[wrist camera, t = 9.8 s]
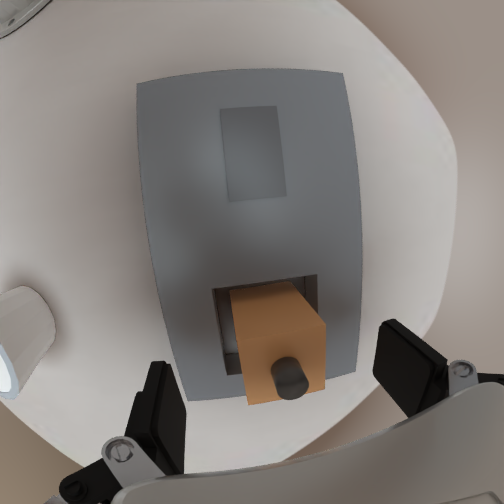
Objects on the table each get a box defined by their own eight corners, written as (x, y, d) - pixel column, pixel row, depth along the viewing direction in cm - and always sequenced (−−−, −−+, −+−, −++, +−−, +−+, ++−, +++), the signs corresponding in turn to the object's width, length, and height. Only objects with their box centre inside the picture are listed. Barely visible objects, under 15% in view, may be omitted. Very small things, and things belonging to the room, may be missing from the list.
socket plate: (146, 97, 14) (135, 82, 12) (327, 86, 15) (344, 71, 13) (190, 379, 18) (187, 403, 16) (342, 354, 20) (356, 373, 17)
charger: (229, 290, 17) (239, 359, 10) (289, 280, 18) (339, 340, 10) (237, 342, 18) (252, 425, 11) (293, 333, 19) (334, 406, 11)
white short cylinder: (4, 266, 15) (-51, 292, 8) (63, 295, 16) (9, 338, 9) (8, 334, 16) (-34, 371, 9) (63, 365, 17) (26, 416, 10)
